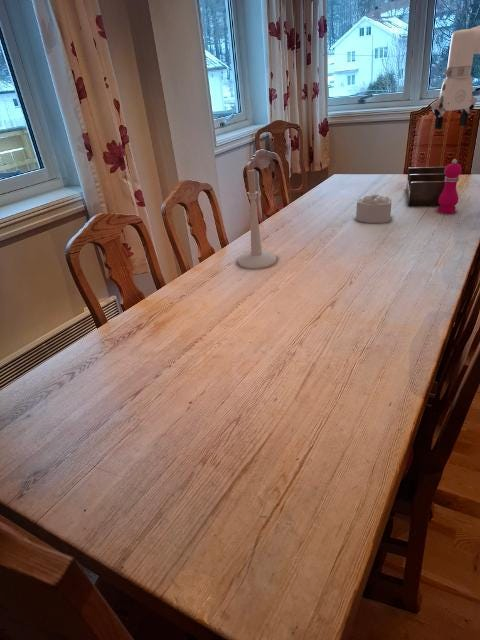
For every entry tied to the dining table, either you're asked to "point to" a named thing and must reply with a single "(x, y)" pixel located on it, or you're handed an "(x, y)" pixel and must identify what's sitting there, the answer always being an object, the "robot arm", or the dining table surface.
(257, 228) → the candlestick
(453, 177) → the pepper mill
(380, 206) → the lumpy-topped squat cylinder
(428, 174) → the shelf
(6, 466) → the dining table surface
